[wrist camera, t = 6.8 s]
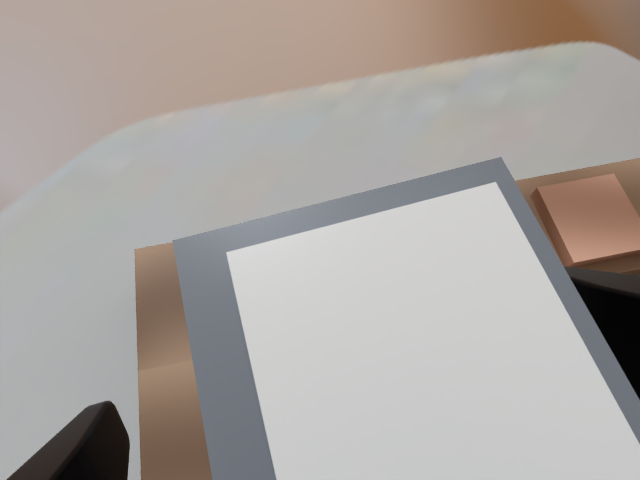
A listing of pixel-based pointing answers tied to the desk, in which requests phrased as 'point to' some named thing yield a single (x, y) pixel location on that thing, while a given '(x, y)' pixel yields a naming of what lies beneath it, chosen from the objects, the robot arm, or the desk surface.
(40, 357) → the desk surface
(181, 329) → the socket board
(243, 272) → the plug
